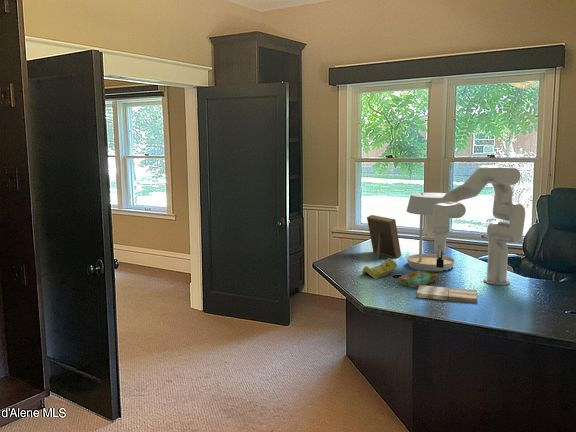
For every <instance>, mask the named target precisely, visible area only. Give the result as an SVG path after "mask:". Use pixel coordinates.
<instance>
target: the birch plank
mask: <svg viewBox="0 0 576 432" xmlns="http://www.w3.org/2000/svg"><path fill="white" fill-rule="evenodd" d="M449 288H450V287H443V286H432V285H419V287H418V288H417V291H416V298H421V299H433V300H443V301H448V294H449Z"/></svg>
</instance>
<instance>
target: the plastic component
mask: <svg viewBox="0 0 576 432" xmlns="http://www.w3.org/2000/svg"><path fill="white" fill-rule="evenodd" d="M397 267H398V264H397V262H396V261H395V260H393V259H392V257H390V258H386V260H384V261H383V262H381V263H380V264H379V265H376V266H373V267H371V268H370V267H368V266H367V265H365V266H364V267H363V269H362V271H361V274H362V275H363V276H365V275H367V274H369V276H370V277H372V278H374V279H379V278H381V277H384V276H387V275H389V274H390V273H391V272H393V271H395V270H396V269H397Z"/></svg>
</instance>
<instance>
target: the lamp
mask: <svg viewBox="0 0 576 432" xmlns="http://www.w3.org/2000/svg"><path fill="white" fill-rule="evenodd" d="M446 193H447V192H446ZM446 193H444V192H414V193H411V194H410V196H409V200H408V204H407V208H406V213H409V214H412V215H419V238H418V239H419V242H418V243H419V246H418V251H419V252H418V253H417V254H411V255H408V256H407V257H406V260H407V263H408V266H409V267H410V268H412V269H415V270H416V271H424V272H444V271H443V270H446V271H449V270H448V269H450V270H452V269H453V268H454V265H455V262H456V259H455V258H453V257H451V256H448V255H445V254H443V259H444V267H443V268H437V267H436V264H437V253H435V254H434V253H423V233H424V230H423V229H424V228H423V227H424V216H427V225H429V224H430V216H433V206H434V205H435V204H438V202H439V201H440V200H441V199H442V197H443V196H444V195H445V194H446ZM452 267H453V268H452ZM451 268H452V269H451Z"/></svg>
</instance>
